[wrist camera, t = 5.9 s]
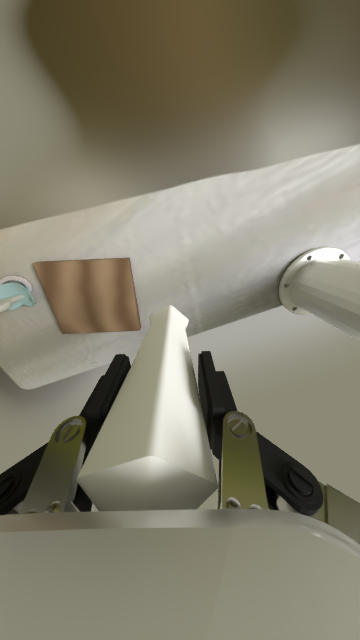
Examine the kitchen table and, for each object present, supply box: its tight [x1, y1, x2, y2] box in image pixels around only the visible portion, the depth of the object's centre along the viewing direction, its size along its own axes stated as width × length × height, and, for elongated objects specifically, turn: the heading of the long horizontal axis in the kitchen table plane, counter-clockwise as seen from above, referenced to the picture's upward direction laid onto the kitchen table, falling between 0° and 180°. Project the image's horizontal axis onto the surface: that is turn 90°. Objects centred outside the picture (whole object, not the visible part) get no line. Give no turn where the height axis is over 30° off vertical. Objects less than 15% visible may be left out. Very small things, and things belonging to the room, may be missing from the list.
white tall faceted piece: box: [76, 305, 218, 511], centre depth 10 cm, size 5×4×15 cm
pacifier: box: [0, 276, 35, 312], centre depth 29 cm, size 7×6×6 cm
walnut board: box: [33, 258, 141, 334], centre depth 32 cm, size 16×14×2 cm
